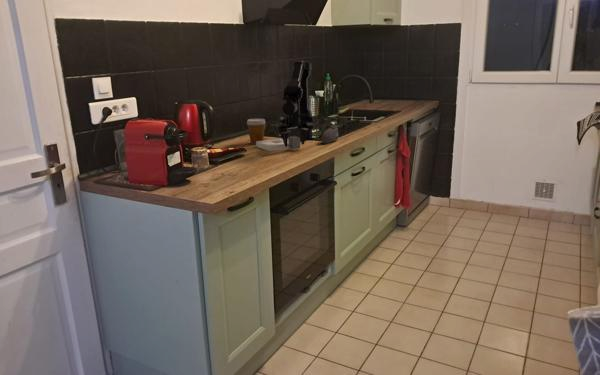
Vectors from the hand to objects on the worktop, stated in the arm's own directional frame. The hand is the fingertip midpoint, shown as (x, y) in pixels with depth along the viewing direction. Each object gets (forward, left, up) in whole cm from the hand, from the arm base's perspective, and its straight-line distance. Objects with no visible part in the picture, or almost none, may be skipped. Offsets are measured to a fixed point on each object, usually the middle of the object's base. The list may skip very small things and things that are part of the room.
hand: (294, 145), depth 232 cm
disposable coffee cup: (+7, -25, -2) cm, 26 cm away
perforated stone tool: (-24, -5, -2) cm, 25 cm away
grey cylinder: (0, 0, -2) cm, 2 cm away
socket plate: (+3, -11, -2) cm, 12 cm away
